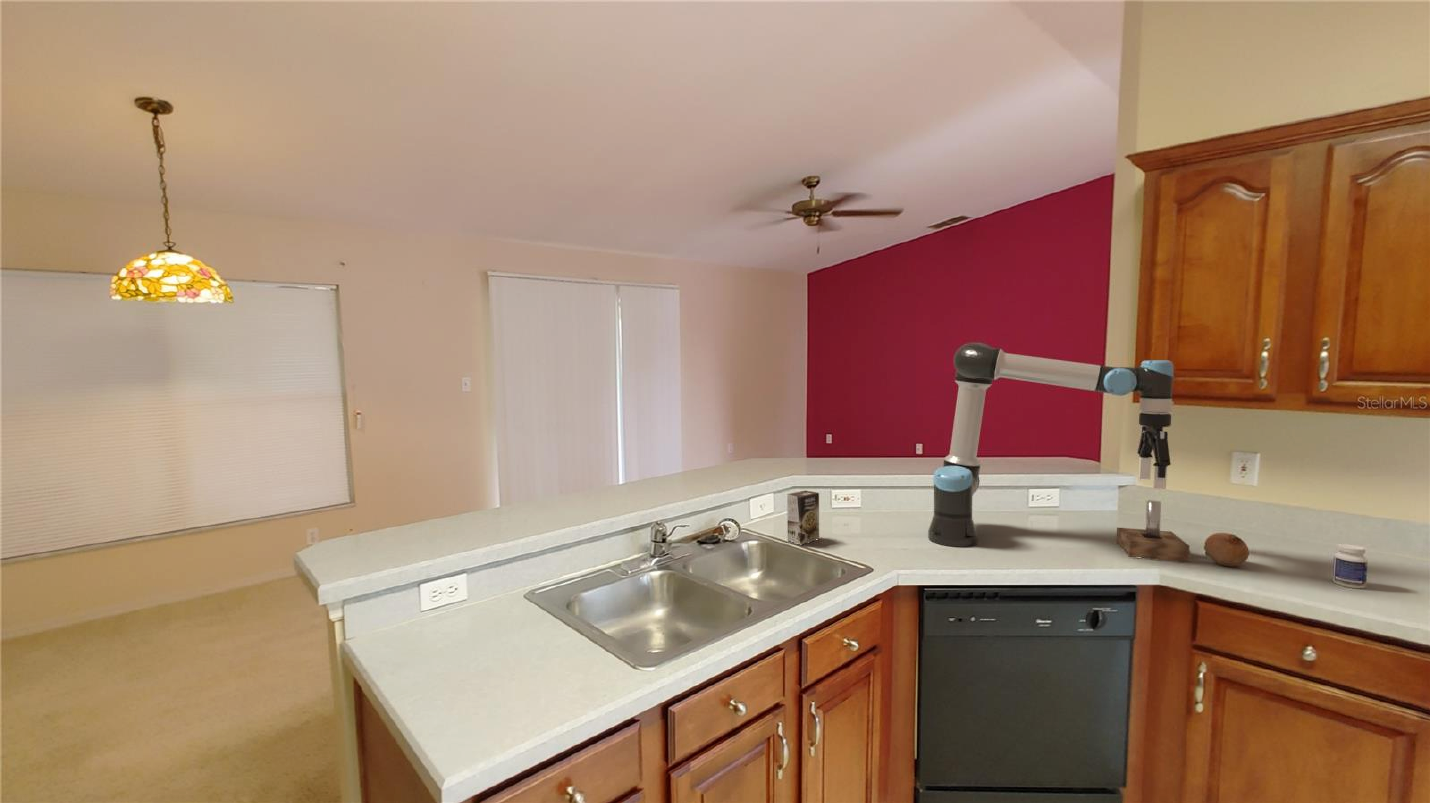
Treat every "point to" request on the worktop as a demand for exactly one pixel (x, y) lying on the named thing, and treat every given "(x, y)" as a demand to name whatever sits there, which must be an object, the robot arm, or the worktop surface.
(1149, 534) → the steel pin
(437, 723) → the worktop surface
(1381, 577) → the worktop surface
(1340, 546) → the pill bottle
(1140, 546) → the wooden block with hole
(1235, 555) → the kiwi fruit
